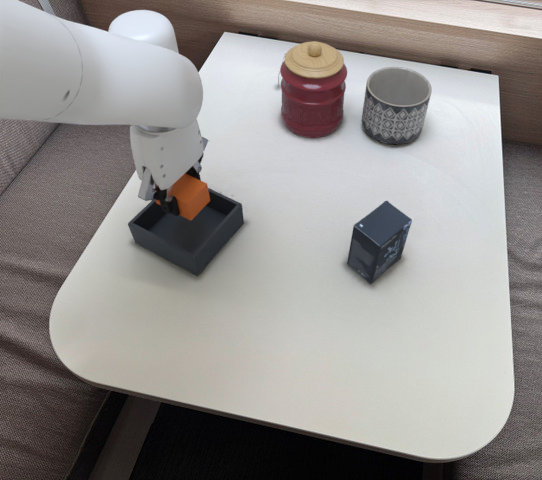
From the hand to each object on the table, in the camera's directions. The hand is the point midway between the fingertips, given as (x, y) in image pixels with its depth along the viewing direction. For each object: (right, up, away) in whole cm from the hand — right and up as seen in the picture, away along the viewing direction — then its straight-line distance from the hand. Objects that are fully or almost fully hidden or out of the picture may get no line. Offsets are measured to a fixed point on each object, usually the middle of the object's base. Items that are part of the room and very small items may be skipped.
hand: (182, 199), depth 83 cm
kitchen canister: (+20, +19, +27) cm, 38 cm away
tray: (0, -5, +7) cm, 8 cm away
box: (+31, -10, +5) cm, 33 cm away
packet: (0, 0, 0) cm, 1 cm away
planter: (+37, +17, +26) cm, 48 cm away
